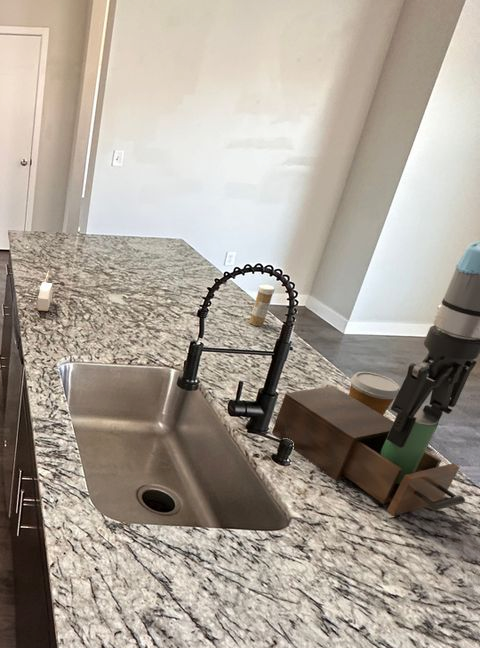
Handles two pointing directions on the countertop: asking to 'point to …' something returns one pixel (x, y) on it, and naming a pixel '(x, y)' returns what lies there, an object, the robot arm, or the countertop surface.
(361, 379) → the disposable coffee cup
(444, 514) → the countertop surface
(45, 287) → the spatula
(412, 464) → the green can
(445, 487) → the drawer
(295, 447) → the cabinet
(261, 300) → the sprinkles bottle
